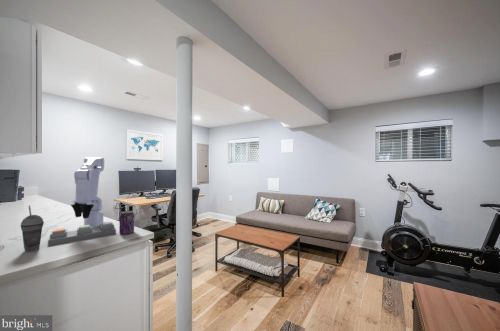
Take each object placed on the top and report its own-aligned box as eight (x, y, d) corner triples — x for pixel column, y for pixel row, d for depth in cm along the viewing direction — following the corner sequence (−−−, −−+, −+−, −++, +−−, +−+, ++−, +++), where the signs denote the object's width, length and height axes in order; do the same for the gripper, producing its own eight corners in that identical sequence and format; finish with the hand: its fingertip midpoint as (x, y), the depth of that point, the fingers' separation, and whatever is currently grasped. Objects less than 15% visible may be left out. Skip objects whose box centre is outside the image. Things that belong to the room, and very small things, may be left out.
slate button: (111, 224, 119) (111, 221, 119) (112, 226, 115) (112, 223, 115) (102, 226, 116) (102, 222, 116) (102, 227, 113) (103, 224, 113)
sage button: (89, 228, 112) (89, 224, 112) (89, 230, 109) (89, 226, 109) (79, 229, 109) (79, 225, 109) (79, 231, 106) (79, 227, 106)
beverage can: (127, 235, 111) (127, 213, 111) (116, 234, 112) (116, 212, 112) (136, 231, 118) (137, 210, 118) (126, 230, 119) (126, 210, 119)
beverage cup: (36, 252, 89) (37, 206, 89) (15, 254, 87) (15, 207, 87) (47, 245, 96) (48, 203, 96) (28, 247, 94) (28, 204, 94)
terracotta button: (64, 231, 106) (64, 228, 106) (64, 233, 102) (64, 229, 102) (53, 233, 103) (53, 229, 103) (52, 235, 100) (52, 231, 100)
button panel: (113, 229, 122) (113, 221, 122) (115, 233, 114) (115, 225, 114) (50, 239, 105) (50, 230, 105) (48, 245, 96) (48, 236, 96)
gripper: (66, 192, 109) (66, 217, 108) (80, 193, 102) (80, 220, 102) (82, 191, 115) (81, 215, 115) (96, 191, 109) (96, 217, 108)
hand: (82, 217), depth 109 cm, fingers open, 7 cm apart
